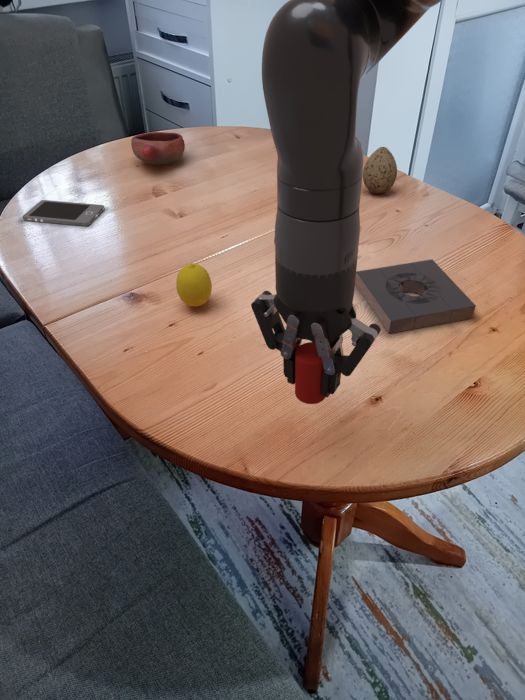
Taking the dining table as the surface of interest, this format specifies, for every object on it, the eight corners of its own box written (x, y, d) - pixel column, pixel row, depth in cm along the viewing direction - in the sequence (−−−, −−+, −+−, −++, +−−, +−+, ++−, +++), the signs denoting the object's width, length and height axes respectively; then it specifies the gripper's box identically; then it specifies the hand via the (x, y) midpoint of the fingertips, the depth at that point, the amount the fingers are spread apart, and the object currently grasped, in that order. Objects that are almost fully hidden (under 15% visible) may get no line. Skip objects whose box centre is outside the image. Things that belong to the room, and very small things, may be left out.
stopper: (320, 379, 62) (322, 339, 58) (331, 400, 60) (334, 360, 56) (291, 385, 62) (291, 345, 58) (300, 407, 59) (301, 366, 55)
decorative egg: (392, 185, 120) (399, 141, 114) (395, 200, 115) (402, 153, 109) (360, 185, 121) (364, 140, 115) (361, 199, 116) (366, 153, 109)
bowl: (129, 159, 136) (123, 127, 130) (177, 150, 139) (173, 118, 134) (146, 183, 124) (140, 148, 119) (198, 172, 128) (195, 139, 123)
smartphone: (21, 220, 112) (20, 217, 111) (42, 202, 118) (41, 199, 117) (87, 226, 109) (86, 223, 108) (105, 208, 115) (104, 205, 114)
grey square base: (429, 271, 94) (432, 259, 92) (472, 318, 84) (476, 305, 82) (354, 283, 91) (355, 271, 90) (388, 333, 81) (391, 320, 80)
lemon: (173, 312, 87) (166, 269, 81) (189, 293, 90) (184, 252, 85) (204, 319, 85) (199, 276, 80) (219, 300, 89) (215, 258, 83)
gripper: (405, 249, 48) (383, 386, 60) (269, 216, 54) (272, 346, 65) (374, 291, 44) (356, 431, 55) (228, 250, 49) (239, 384, 60)
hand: (310, 384), depth 60 cm, fingers closed on stopper, 3 cm apart
